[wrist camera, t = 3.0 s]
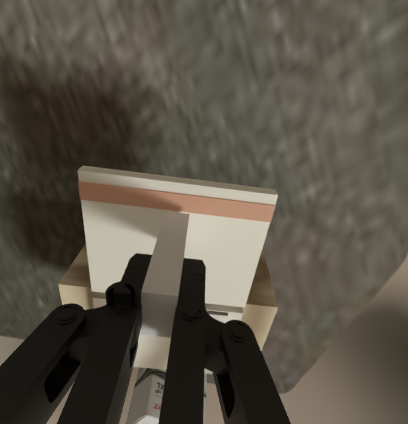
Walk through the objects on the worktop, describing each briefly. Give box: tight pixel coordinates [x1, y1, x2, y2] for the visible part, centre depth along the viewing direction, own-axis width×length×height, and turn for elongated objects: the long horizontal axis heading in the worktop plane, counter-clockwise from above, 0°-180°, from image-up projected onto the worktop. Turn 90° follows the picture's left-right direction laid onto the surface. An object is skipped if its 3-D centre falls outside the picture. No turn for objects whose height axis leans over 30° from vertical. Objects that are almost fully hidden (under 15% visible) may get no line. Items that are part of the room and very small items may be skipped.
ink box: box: [126, 367, 206, 424], centre depth 36 cm, size 8×5×12 cm, turn 54°
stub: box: [77, 166, 278, 307], centre depth 19 cm, size 12×10×1 cm
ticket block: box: [58, 243, 278, 374], centre depth 28 cm, size 18×10×11 cm, turn 83°
